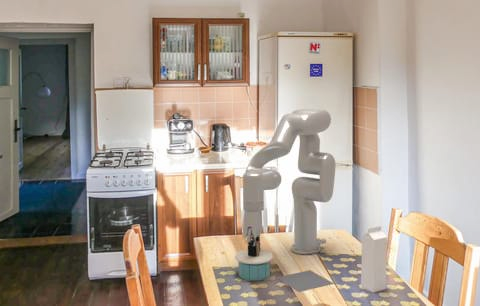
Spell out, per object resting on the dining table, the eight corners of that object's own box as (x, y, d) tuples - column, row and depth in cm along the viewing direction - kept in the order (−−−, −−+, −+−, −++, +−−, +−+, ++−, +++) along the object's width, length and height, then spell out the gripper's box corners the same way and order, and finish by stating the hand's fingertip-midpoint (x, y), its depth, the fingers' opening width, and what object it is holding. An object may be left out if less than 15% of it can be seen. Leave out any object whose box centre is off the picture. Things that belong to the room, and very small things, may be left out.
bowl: (260, 268, 200) (260, 253, 199) (275, 277, 189) (275, 262, 189) (233, 273, 194) (233, 258, 194) (247, 283, 184) (247, 267, 183)
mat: (310, 271, 195) (310, 270, 195) (334, 284, 182) (334, 283, 182) (276, 278, 189) (276, 277, 189) (298, 293, 175) (298, 291, 175)
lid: (261, 249, 200) (261, 234, 199) (280, 260, 188) (280, 244, 187) (228, 255, 194) (228, 239, 193) (246, 266, 182) (245, 250, 181)
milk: (386, 290, 177) (388, 228, 174) (372, 294, 174) (374, 230, 171) (373, 284, 182) (375, 223, 179) (360, 287, 179) (361, 226, 176)
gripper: (250, 200, 197) (250, 246, 200) (236, 210, 182) (237, 260, 184) (269, 201, 195) (269, 247, 197) (256, 211, 179) (257, 262, 182)
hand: (254, 253), depth 191 cm, fingers closed on lid, 3 cm apart
